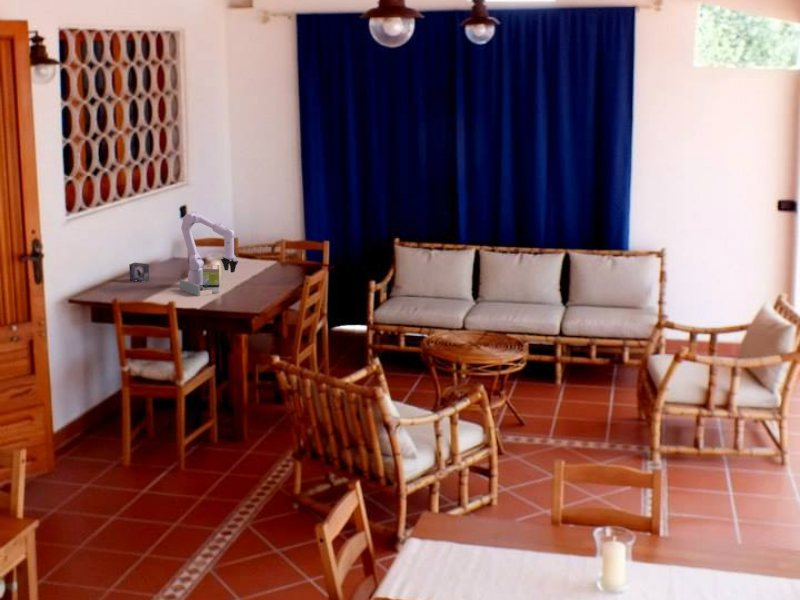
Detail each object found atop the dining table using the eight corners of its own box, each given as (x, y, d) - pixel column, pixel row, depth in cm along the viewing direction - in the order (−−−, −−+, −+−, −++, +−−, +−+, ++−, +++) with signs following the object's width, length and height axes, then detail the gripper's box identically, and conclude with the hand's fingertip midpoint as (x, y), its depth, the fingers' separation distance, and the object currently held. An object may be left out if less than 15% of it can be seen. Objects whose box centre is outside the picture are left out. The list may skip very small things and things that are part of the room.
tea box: (219, 293, 689) (219, 268, 685) (202, 293, 687) (202, 268, 684) (219, 288, 703) (219, 264, 700) (203, 288, 702) (202, 264, 698)
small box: (129, 280, 720) (128, 264, 718) (135, 278, 726) (134, 262, 724) (143, 282, 716) (143, 265, 714) (149, 280, 722) (149, 263, 720)
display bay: (179, 289, 697) (179, 279, 696) (193, 287, 703) (193, 277, 701) (198, 296, 680) (197, 285, 679) (212, 294, 685) (211, 284, 684)
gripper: (241, 250, 700) (241, 272, 703) (229, 246, 711) (229, 268, 714) (230, 251, 696) (231, 273, 698) (218, 247, 707) (219, 269, 710)
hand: (229, 271), depth 706 cm, fingers open, 7 cm apart
